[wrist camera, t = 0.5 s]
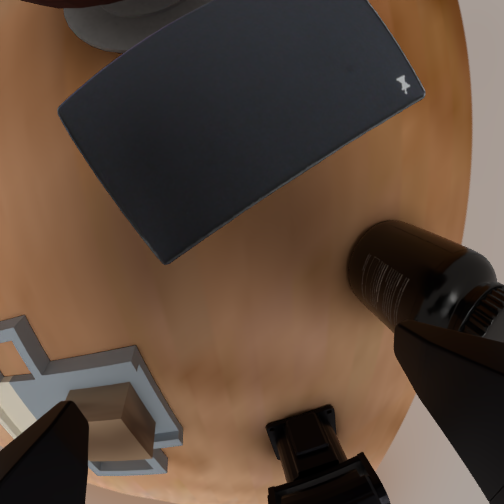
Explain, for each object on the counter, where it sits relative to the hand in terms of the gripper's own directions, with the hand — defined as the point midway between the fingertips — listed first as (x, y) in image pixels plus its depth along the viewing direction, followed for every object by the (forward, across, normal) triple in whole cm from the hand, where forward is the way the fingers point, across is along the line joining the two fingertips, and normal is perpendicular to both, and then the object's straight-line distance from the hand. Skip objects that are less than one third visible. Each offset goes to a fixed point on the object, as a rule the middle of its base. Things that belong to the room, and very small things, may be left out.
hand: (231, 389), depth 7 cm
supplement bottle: (+13, -12, +4) cm, 18 cm away
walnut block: (+12, +12, +11) cm, 20 cm away
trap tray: (+13, +17, +11) cm, 24 cm away
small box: (+13, -3, -8) cm, 15 cm away
